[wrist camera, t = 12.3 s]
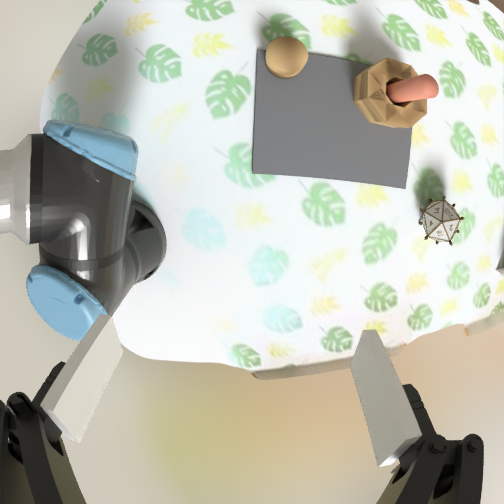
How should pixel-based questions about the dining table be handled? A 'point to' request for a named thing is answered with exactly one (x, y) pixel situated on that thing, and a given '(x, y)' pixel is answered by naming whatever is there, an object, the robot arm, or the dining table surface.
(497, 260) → the dining table surface
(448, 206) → the game die
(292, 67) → the loose tan rounded knob
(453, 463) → the robot arm
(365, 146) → the mat
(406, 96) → the pink rounded cylinder
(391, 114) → the bead
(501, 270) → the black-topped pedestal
